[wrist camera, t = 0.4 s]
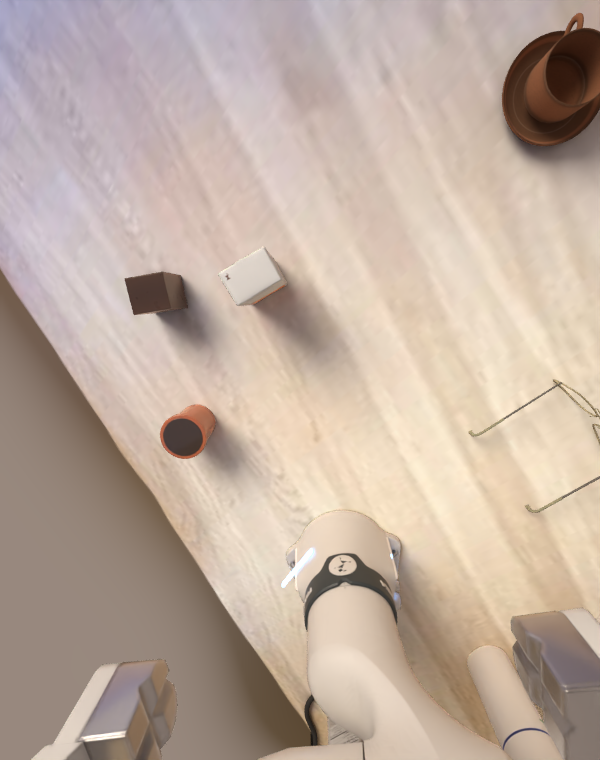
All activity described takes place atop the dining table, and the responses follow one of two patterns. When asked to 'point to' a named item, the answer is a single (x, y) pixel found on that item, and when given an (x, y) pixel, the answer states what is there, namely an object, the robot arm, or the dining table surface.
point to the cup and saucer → (554, 86)
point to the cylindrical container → (510, 706)
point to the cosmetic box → (252, 278)
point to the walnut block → (156, 293)
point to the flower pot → (187, 431)
